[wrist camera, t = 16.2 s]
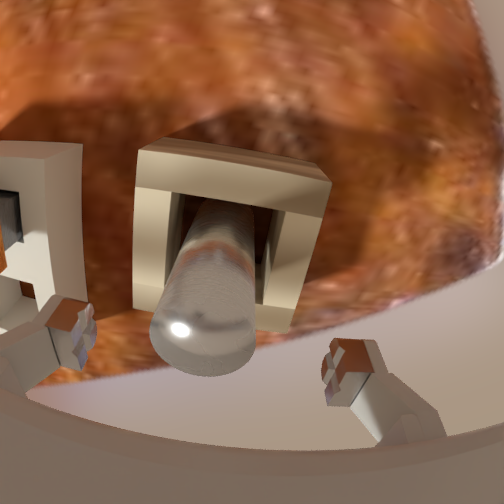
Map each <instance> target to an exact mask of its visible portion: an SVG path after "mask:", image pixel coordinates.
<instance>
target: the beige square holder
mask: <svg viewBox="0 0 504 504" xmlns="http://www.w3.org/2000/svg"><path fill="white" fill-rule="evenodd" d="M331 187H332V182H331V181H330V179H329V178H328V177H327V176H326V175H325V174H324V173H323V172H322V170H321V169H320V168H319V167H318V166H317V165H316V164H315V163H312V162H308V161H303V160H299V159H294V158H289V157H284V156H279V155H274V154H269V153H264V152H259V151H253V150H248V149H242V148H236V147H231V146H224V145H218V144H212V143H205V142H198V141H191V140H184V139H176V138H168V137H162V138H160V139H158V140H156V141H154V142H152V143H150V144H148V145H146V146H144V147H143V148H141V149H139V150H138V159H137V171H136V184H135V200H134V220H133V308H135V309H140V310H144V311H149V312H155V310H156V308H157V305H158V303H159V300H160V298H161V295H162V293H163V290H164V288H165V285H166V283H167V281H168V278H169V276H170V273H171V271H172V268H173V266H174V264H175V261H176V259H177V257H178V254H179V252H180V242H181V232H182V223H183V214H184V205H185V197H186V194H188V195H195V196H201V197H207V198H213V199H219V200H225V201H231V202H237V203H243V204H249V205H254V206H260V207H265V208H271V209H273V213H272V218H271V222H270V227H269V231H268V235H267V240H266V244H265V248H264V253H263V257H262V261H261V264H257V263H255V326H256V330H263V331H271V332H279V333H287V332H288V329H289V326H290V323H291V320H292V317H293V314H294V311H295V308H296V305H297V301H298V298H299V295H300V292H301V289H302V286H303V283H304V279H305V276H306V273H307V270H308V266H309V263H310V260H311V257H312V253H313V250H314V247H315V243H316V240H317V236H318V233H319V230H320V226H321V223H322V219H323V216H324V212H325V208H326V205H327V201H328V198H329V194H330V190H331Z"/></svg>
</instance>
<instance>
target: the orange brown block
mask: <svg viewBox="0 0 504 504" xmlns="http://www.w3.org/2000/svg"><path fill="white" fill-rule="evenodd" d="M22 237H23V230H22V221H21V211H20V198H19V192H17V191H9V190H1V189H0V274H1V273H2V272H3V271H4V270H5V269H6V268H7V261H6V256H5V251H6V250H7V249H8V248H10V247H11V246H12V245H13V244H14V243H16V242H17V241H18V240H19V239H21V238H22Z"/></svg>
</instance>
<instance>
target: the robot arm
mask: <svg viewBox="0 0 504 504" xmlns="http://www.w3.org/2000/svg"><path fill="white" fill-rule="evenodd" d="M93 314H94V308H93V305H92V304H91V303H88V302H84V301H80V300H76V299H72V298H68V297H63V296H60V295H56V294H54V295H52V296H51V297H50V298H49V299H48V301H47V302H46V303H45V305H44V306H43V307H42V309H41V310H40V311H39V313H38V314H37V316H36V317H35V318H34V320H33V321H32V322H29V321H28V322H26V323H24V324H22V325H20V326H17V327H15V328H13V329H11V330H9V331H7V332H5V333H3V334H1V335H0V504H504V422H503V423H500V424H496V425H493V426H489V427H486V428H482V429H478V430H474V431H470V432H466V433H462V434H458V435H452V436H448V437H447V435H446V432H445V429H444V427H443V424H442V422H441V419H440V417H439V414H438V412H437V410H436V409H434V408H433V407H432V406H431V405H430V404H429V403H427V402H426V401H425V400H424V399H423V398H421V397H420V396H419V395H418V394H417V393H415V392H414V391H413V390H412V389H411V388H409V387H408V386H407V385H406V384H405V383H403V382H402V381H401V380H400V379H399V378H397V377H396V376H395V375H394V374H392V373H388V370H387V367H386V365H385V362H384V360H383V357H382V355H381V353H380V350H379V348H378V345H377V343H376V341H375V340H365V339H361V340H359V339H342V338H334V339H333V340H332V341H331V343H330V346H329V347H330V351H331V352H329V353H328V354H326V355H325V357H324V360H323V363H322V368H321V375H322V380H323V382H324V383H325V384H326V385H327V387H326V389H325V396H326V402H327V406H345V407H350V409H351V410H352V411H353V412H354V413H355V415H356V416H357V417H358V418H359V419H360V421H361V422H362V423H363V424H364V425H365V427H366V428H367V429H368V430H369V431H370V433H371V434H372V435H373V436H374V437H375V439H376V440H377V441H378V442H379V443H378V444H377V445H376V446H375V447H372V448H360V449H345V450H319V451H318V450H316V451H291V450H263V449H246V448H235V447H224V446H215V445H207V444H199V443H192V442H186V441H179V440H173V439H168V438H162V437H157V436H151V435H147V434H142V433H137V432H133V431H128V430H125V429H121V428H117V427H113V426H108V425H105V424H101V423H98V422H94V421H91V420H87V419H84V418H81V417H78V416H74V415H71V414H68V413H65V412H62V411H59V410H56V409H54V408H51V407H48V406H45V405H42V404H40V403H37V402H35V401H32V400H30V399H28V398H27V396H26V394H25V393H26V392H27V391H29V390H30V389H31V388H33V387H34V386H35V385H37V384H38V383H39V382H41V381H42V380H43V379H45V378H46V377H47V376H49V375H50V374H51V373H53V372H54V371H55V370H57V369H58V368H60V366H63V367H67V368H71V369H74V370H78V371H82V369H83V367H84V365H85V362H86V360H87V358H88V356H87V351H89V350H90V349H92V348H93V346H94V344H95V341H96V336H97V326H96V322H95V321H94V320H93V318H92V316H93Z"/></svg>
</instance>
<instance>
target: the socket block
mask: <svg viewBox="0 0 504 504" xmlns="http://www.w3.org/2000/svg"><path fill="white" fill-rule="evenodd" d="M82 152H83V144H78V143H62V142H42V141H4V140H0V189H1V190H9V191H17V192H19V198H20V211H21V221H22V230H23V237H22V238H21V239H19V240H18V241H17V242H16V243H14V244H13V245H12V246H11V247H10V248H8V249H7V250H6V251H5V256H6V261H7V268H6V269H5V270H4V271H3V272H2V273H1V274H0V335H1V334H3V333H5V332H7V331H9V330H11V329H13V328H15V327H17V326H20V325H22V324H24V323H26V322H28V321H29V322H32V321H33V320H34V318H35V317H36V316H37V314H38V313H39V311H40V310H41V309H42V307H43V306H44V305H45V303H46V302H47V301H48V299H49V298H50V297H51V296H52V295H54V294H56V295H60V296H63V297H68V298H72V299H76V300H80V301H84V302H88V297H87V288H86V279H85V267H84V254H83V237H82V200H81V189H82ZM19 280H20V281H24V282H27V283H31V284H33V287H34V292H35V297H36V299H32V298H29V297H26V296H22V292H21V288H20V283H19Z"/></svg>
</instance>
